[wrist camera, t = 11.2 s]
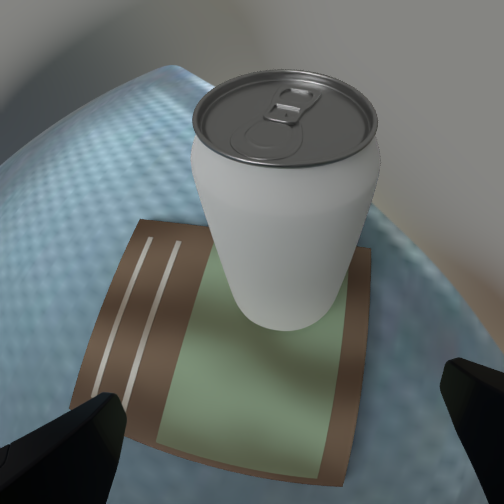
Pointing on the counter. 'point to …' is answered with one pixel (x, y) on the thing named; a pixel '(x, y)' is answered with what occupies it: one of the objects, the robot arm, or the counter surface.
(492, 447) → the robot arm
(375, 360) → the counter surface
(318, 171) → the can
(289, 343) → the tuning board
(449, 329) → the counter surface
